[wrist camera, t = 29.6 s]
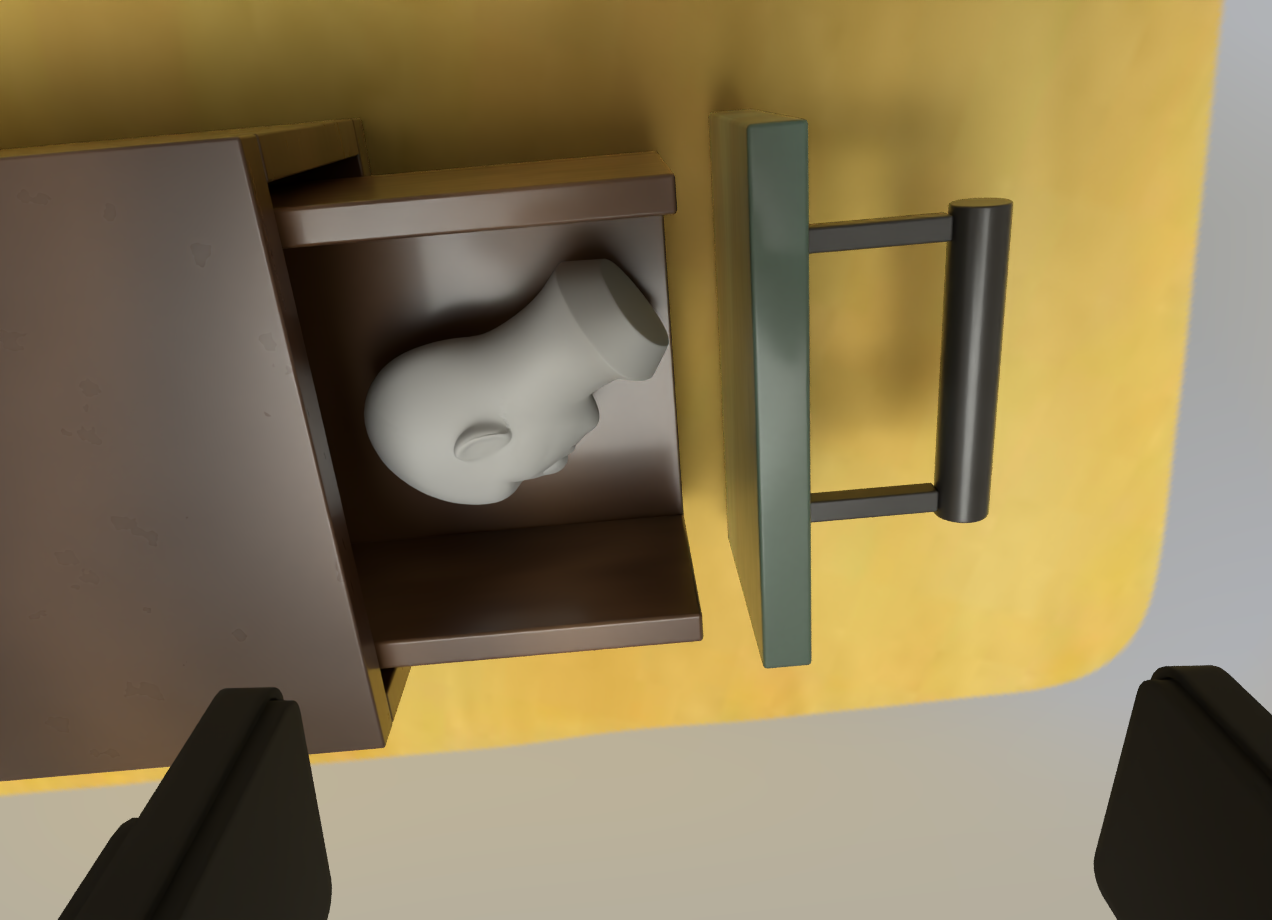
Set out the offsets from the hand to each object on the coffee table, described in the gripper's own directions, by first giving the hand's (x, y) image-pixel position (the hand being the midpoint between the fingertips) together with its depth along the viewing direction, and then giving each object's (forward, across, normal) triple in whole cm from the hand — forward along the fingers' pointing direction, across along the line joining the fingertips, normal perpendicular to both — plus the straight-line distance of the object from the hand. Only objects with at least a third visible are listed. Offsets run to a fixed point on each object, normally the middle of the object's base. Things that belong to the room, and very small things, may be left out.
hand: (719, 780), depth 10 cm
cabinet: (+18, +15, +1) cm, 24 cm away
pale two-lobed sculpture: (+16, +3, 0) cm, 17 cm away
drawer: (+17, +1, 0) cm, 17 cm away
